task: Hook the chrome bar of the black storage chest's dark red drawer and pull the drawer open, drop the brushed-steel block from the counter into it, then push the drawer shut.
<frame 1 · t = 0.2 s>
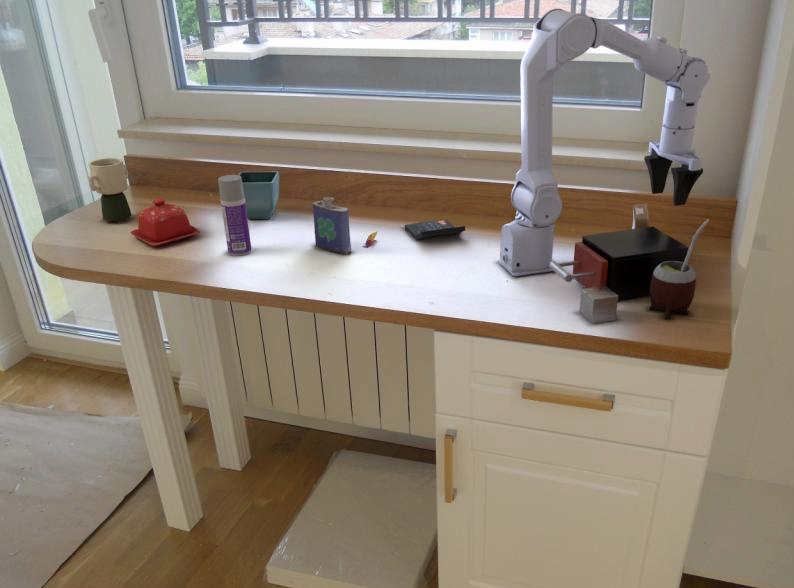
hand: (668, 198, 153), 10 cm above the table, tool pointing down, fingers open, 7 cm apart
container: (240, 252, 162), on the table
flask: (332, 250, 162), on the table
character mug: (118, 220, 181), on the table
steel block: (597, 316, 133), on the table
mate gourd: (670, 311, 134), on the table
flower pot: (261, 217, 181), on the table
butter dish: (166, 238, 170), on the table
black storage chest: (629, 284, 144), on the table
calculator: (434, 235, 168), on the table
tin: (637, 252, 158), on the table
drawer: (606, 267, 140), point 4 cm above the table, slide at 0.5 cm
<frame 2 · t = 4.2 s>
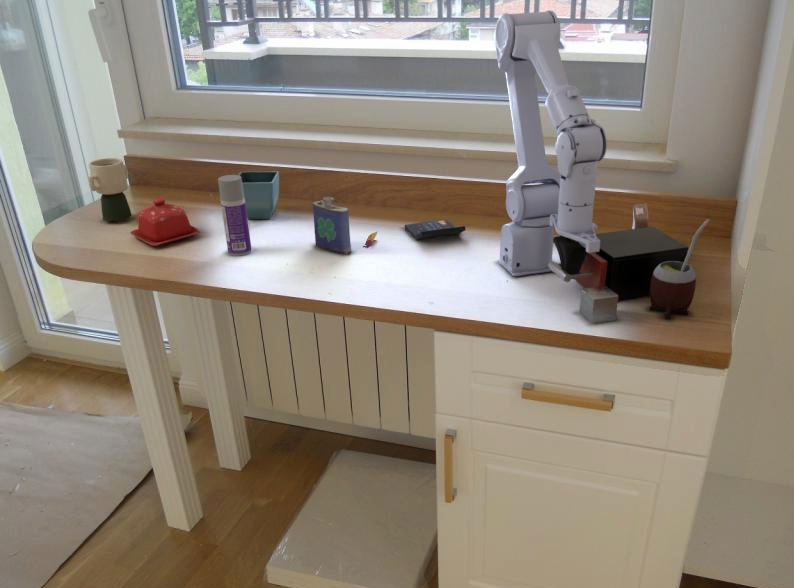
hand: (570, 278, 139), 3 cm above the table, tool pointing down, fingers closed, pressing on drawer
drawer: (605, 267, 140), point 4 cm above the table, slide at 0.7 cm, touching gripper
everything else where it was.
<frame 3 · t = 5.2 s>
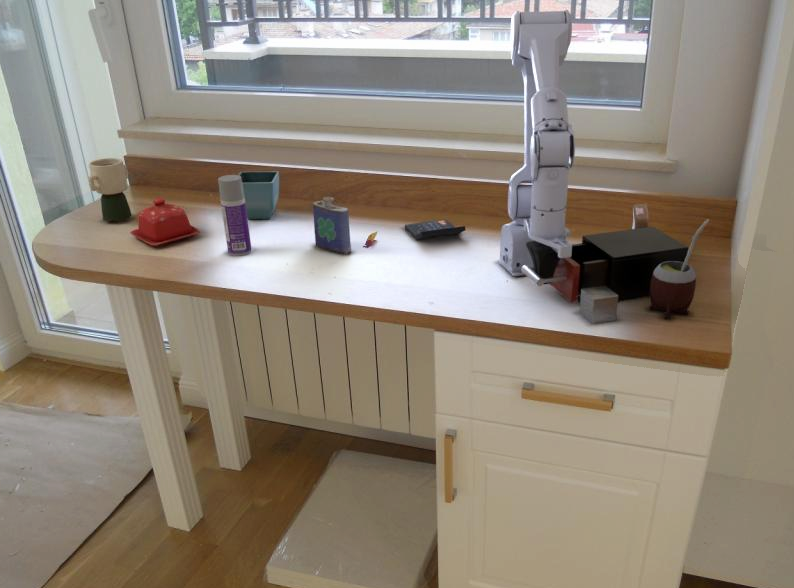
hand: (543, 283, 138), 3 cm above the table, tool pointing down, fingers closed, pressing on drawer
drawer: (579, 271, 139), point 4 cm above the table, slide at 5.7 cm, touching gripper
everything else where it was.
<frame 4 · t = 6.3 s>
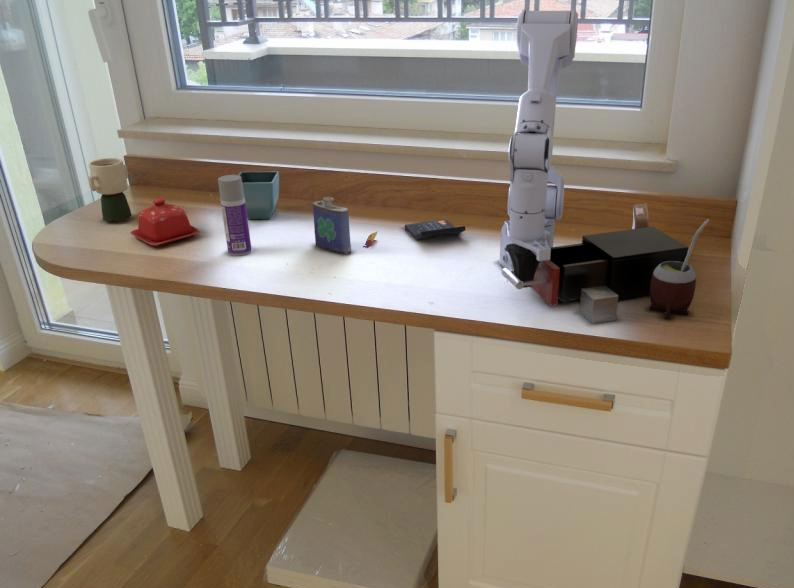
hand: (523, 286, 137), 3 cm above the table, tool pointing down, fingers closed, pressing on drawer
drawer: (559, 273, 138), point 4 cm above the table, slide at 9.4 cm, touching gripper
everything else where it was.
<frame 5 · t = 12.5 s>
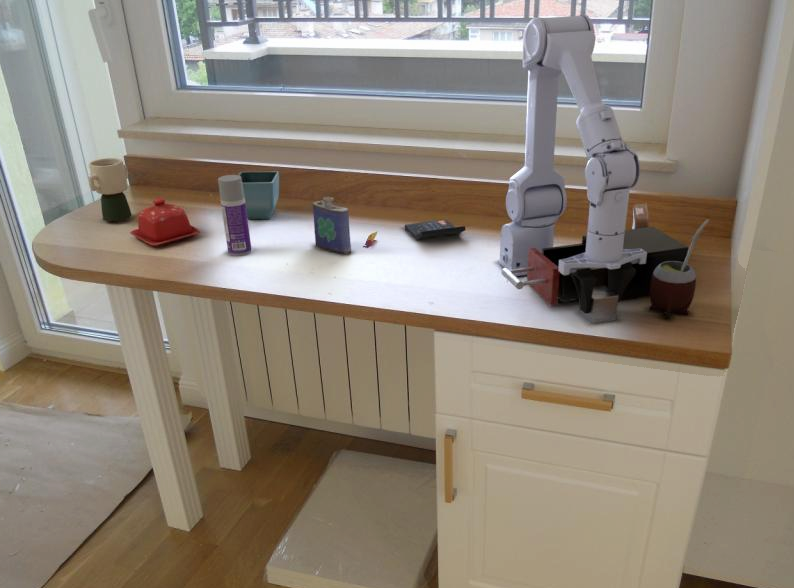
hand: (598, 308, 132), 1 cm above the table, tool pointing down, fingers closed on steel block, 4 cm apart
steel block: (597, 316, 133), on the table, touching gripper
drawer: (559, 273, 138), point 4 cm above the table, slide at 9.4 cm
everything else where it was.
when the fingers open (5 cm above the table, at t = 16.4 s): steel block drops 2 cm, resting on drawer.
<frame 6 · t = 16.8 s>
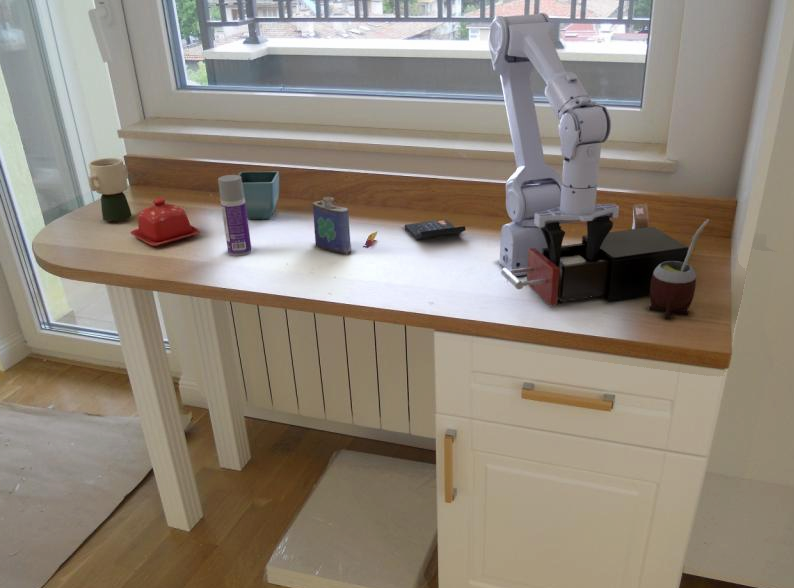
hand: (572, 262, 138), 6 cm above the table, tool pointing down, fingers open, 6 cm apart
steel block: (571, 284, 140), point 2 cm above the table, touching drawer
drawer: (559, 273, 138), point 4 cm above the table, slide at 9.4 cm, touching steel block
everything else where it was.
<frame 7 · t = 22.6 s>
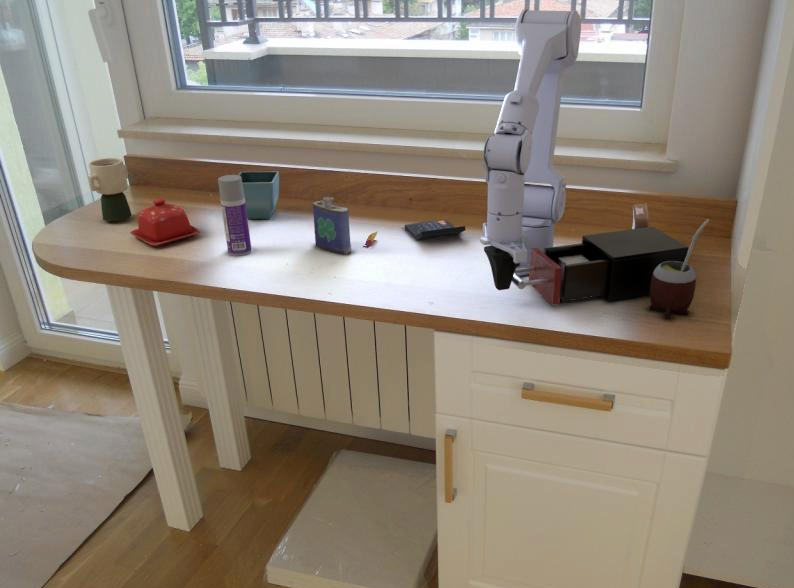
hand: (502, 288, 136), 3 cm above the table, tool pointing down, fingers closed, pressing on drawer
drawer: (561, 273, 138), point 4 cm above the table, slide at 9.0 cm, touching gripper, steel block
everything else where it was.
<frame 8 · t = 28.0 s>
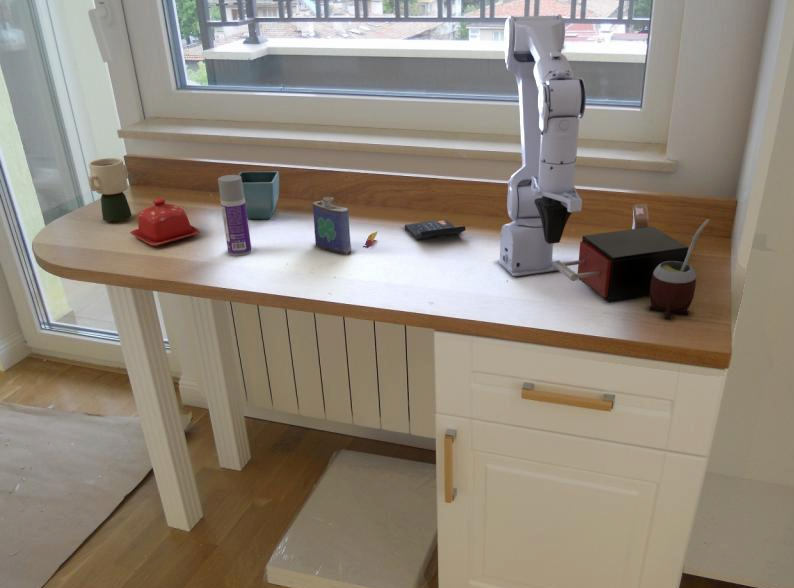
hand: (552, 241, 134), 10 cm above the table, tool pointing down, fingers closed
steel block: (622, 276, 142), point 2 cm above the table, touching drawer
drawer: (611, 266, 141), point 4 cm above the table, slide at -0.5 cm, touching black storage chest, steel block
everything else where it was.
at the end: drawer pulled out 9.4 cm at the most during the clip, back to 0.5 cm at the end; steel block inside the target area in the black storage chest (1.6 cm from its centre), point 1.8 cm above the black storage chest's base; drawer slide at -0.5 cm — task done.
